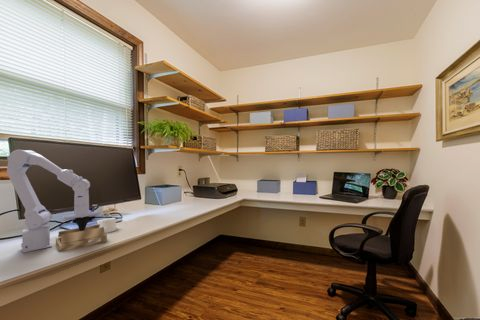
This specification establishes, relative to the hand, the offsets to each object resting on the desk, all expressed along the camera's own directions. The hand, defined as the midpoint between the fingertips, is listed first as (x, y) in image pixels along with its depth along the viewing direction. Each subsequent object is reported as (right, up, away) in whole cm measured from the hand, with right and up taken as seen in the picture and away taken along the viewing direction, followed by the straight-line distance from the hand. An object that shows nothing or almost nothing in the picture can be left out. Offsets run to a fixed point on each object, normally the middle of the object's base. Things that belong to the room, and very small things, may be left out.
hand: (82, 233), depth 107 cm
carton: (-1, -5, +1) cm, 5 cm away
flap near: (+3, 0, -3) cm, 4 cm away
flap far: (-4, 0, +4) cm, 5 cm away
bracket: (-2, -6, +15) cm, 16 cm away
